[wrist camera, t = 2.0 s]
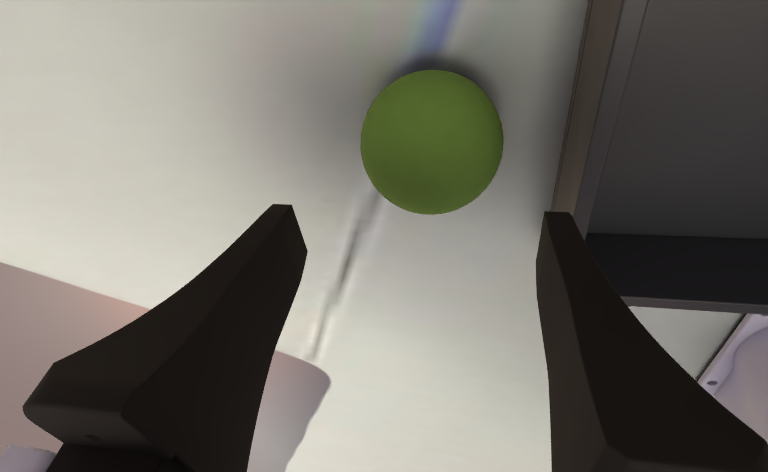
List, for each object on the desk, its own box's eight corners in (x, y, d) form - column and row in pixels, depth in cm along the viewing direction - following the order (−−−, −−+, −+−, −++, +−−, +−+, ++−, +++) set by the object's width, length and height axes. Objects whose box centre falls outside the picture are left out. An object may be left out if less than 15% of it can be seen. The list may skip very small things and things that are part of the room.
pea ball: (499, 159, 20) (498, 246, 16) (382, 158, 21) (359, 240, 17) (507, 41, 16) (509, 120, 13) (366, 46, 17) (333, 121, 14)
